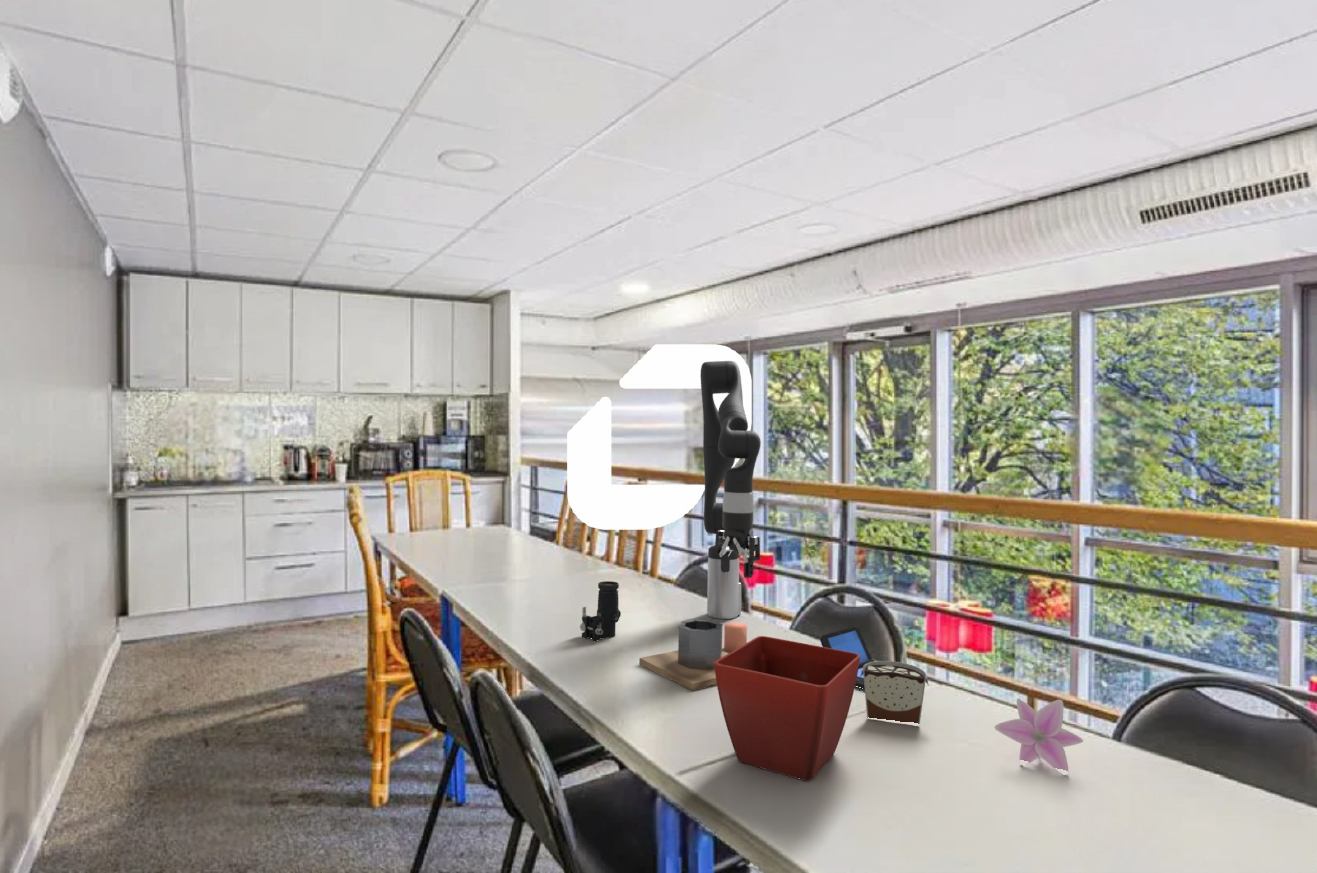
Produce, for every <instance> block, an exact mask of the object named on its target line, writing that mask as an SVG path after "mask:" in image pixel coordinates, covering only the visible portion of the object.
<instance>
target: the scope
mask: <svg viewBox="0 0 1317 873" xmlns="http://www.w3.org/2000/svg"><path fill="white" fill-rule="evenodd" d="M597 584H598V586H597V587H598V588H597V589H598V595H597V611H596V615H593V616H591V615H587V606H583V607H582V615H581V621H582V623H580V626H579V629H580V630H581V631H582V632H581V637H582V638H583V637H584V639H590V638H592V639H591V640H593V641H592V642H594V641H595V642H598V641H597V640H599V641H600V640H601V639H600V638H604V639H610V638H611V637H612V638H615V637H616V623H618V622H619V621H620V617H621V611H620V608H619V590H618V589H619V587H620V586H619V585H620V584H619V582H617V581H613V580H612V581H611V580H610V581H609V580H607V581H600V582H598V583H597ZM614 636H615V637H614ZM587 637H589V638H587ZM612 638H611V639H612Z"/></svg>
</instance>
